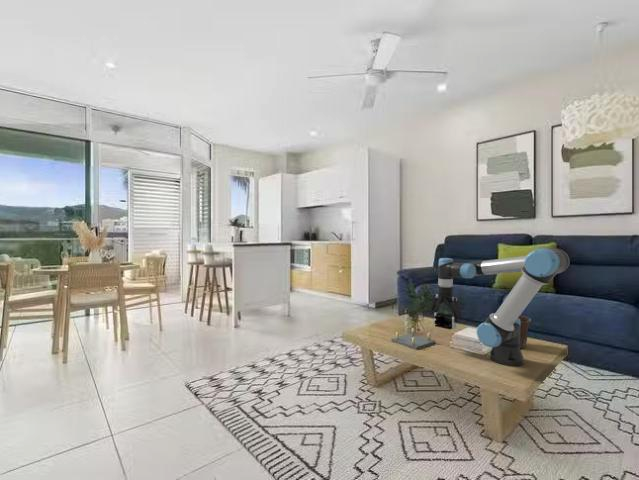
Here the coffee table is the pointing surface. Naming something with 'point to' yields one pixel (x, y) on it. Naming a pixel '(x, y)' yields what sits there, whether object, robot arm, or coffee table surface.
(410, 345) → the standoff plate
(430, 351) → the coffee table surface
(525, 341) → the plant pot
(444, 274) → the robot arm
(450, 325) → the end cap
